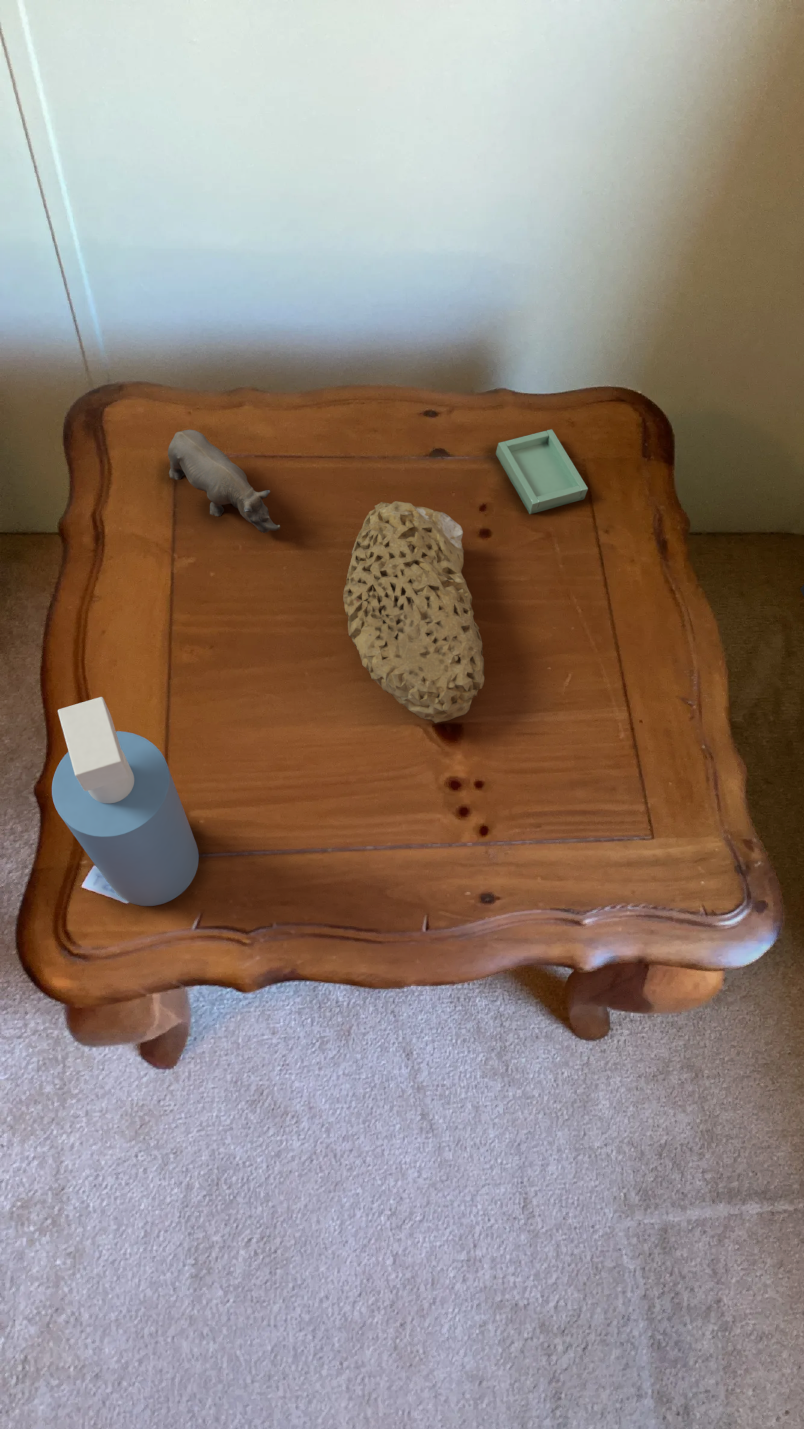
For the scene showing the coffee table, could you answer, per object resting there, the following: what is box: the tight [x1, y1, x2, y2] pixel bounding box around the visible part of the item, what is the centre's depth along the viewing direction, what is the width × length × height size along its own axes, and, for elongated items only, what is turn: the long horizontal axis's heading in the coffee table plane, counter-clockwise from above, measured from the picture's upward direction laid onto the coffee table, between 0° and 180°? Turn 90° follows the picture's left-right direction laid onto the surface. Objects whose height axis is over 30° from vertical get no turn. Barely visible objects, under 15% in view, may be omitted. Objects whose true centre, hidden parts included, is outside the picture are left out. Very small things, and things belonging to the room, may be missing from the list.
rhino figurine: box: [167, 429, 281, 534], centre depth 84 cm, size 4×14×6 cm, turn 48°
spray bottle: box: [51, 696, 200, 907], centre depth 61 cm, size 7×7×21 cm
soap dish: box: [495, 428, 589, 515], centre depth 90 cm, size 8×6×2 cm
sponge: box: [342, 500, 486, 724], centre depth 79 cm, size 13×8×20 cm
